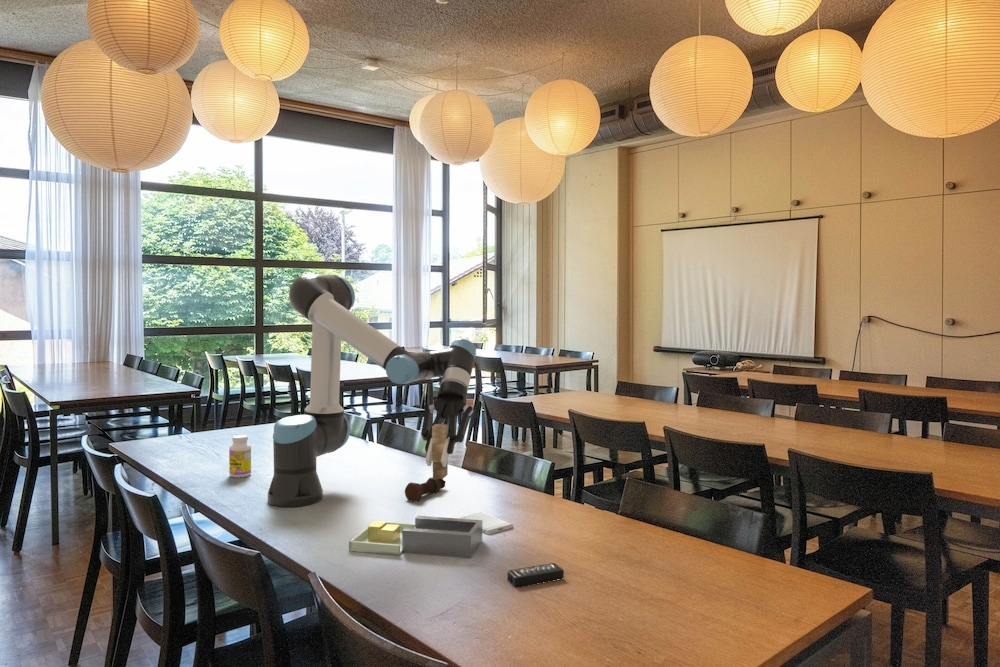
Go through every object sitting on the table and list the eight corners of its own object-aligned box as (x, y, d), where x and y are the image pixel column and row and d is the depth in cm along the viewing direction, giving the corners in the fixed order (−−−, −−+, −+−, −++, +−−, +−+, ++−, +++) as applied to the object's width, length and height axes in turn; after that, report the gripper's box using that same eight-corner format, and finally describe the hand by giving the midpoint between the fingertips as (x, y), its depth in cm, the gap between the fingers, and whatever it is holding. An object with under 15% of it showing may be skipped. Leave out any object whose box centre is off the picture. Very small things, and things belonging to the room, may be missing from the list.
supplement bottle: (224, 476, 220) (224, 437, 219) (239, 472, 226) (239, 433, 225) (241, 479, 217) (240, 439, 216) (255, 474, 223) (255, 435, 223)
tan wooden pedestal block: (431, 478, 170) (431, 426, 169) (436, 474, 174) (436, 423, 174) (443, 479, 169) (443, 427, 169) (448, 474, 173) (448, 424, 173)
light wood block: (380, 541, 159) (368, 540, 159) (386, 536, 163) (374, 535, 163) (380, 527, 159) (368, 526, 159) (386, 521, 163) (374, 520, 163)
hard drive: (457, 517, 175) (487, 530, 166) (482, 511, 181) (513, 523, 171) (457, 524, 175) (487, 536, 166) (482, 517, 181) (513, 529, 171)
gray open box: (402, 552, 154) (402, 530, 153) (418, 536, 164) (417, 515, 164) (470, 557, 150) (470, 535, 150) (482, 541, 161) (482, 520, 161)
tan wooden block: (379, 542, 159) (379, 529, 159) (386, 536, 163) (386, 524, 162) (393, 543, 158) (393, 530, 158) (399, 537, 162) (399, 525, 162)
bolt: (443, 495, 206) (413, 506, 193) (432, 485, 208) (401, 495, 195) (452, 480, 205) (422, 490, 192) (440, 470, 207) (410, 479, 194)
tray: (348, 551, 154) (348, 541, 154) (374, 529, 169) (374, 521, 169) (399, 555, 152) (399, 545, 152) (420, 533, 166) (420, 524, 166)
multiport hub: (564, 581, 139) (564, 570, 139) (515, 589, 135) (515, 578, 135) (554, 573, 143) (554, 562, 143) (506, 581, 139) (506, 570, 139)
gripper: (485, 397, 184) (470, 473, 169) (428, 395, 187) (407, 469, 172) (481, 380, 179) (464, 456, 163) (421, 378, 182) (400, 453, 167)
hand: (435, 463), depth 168 cm, fingers closed on tan wooden pedestal block, 3 cm apart
